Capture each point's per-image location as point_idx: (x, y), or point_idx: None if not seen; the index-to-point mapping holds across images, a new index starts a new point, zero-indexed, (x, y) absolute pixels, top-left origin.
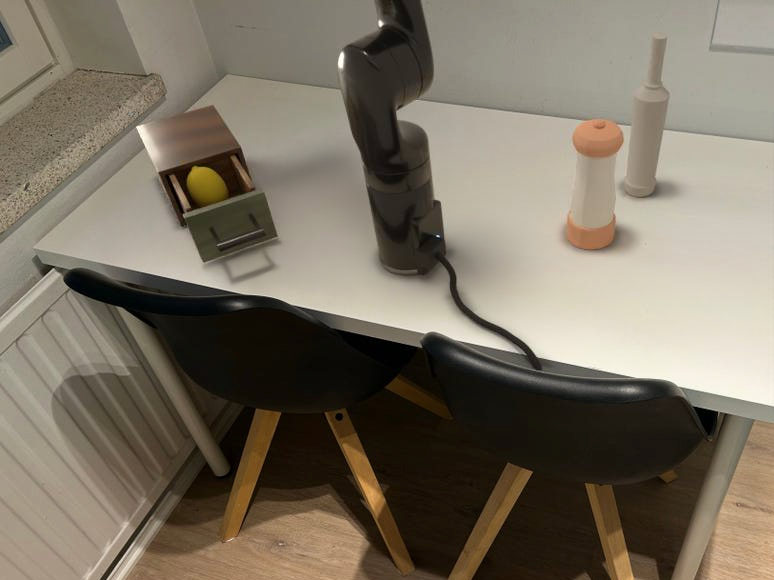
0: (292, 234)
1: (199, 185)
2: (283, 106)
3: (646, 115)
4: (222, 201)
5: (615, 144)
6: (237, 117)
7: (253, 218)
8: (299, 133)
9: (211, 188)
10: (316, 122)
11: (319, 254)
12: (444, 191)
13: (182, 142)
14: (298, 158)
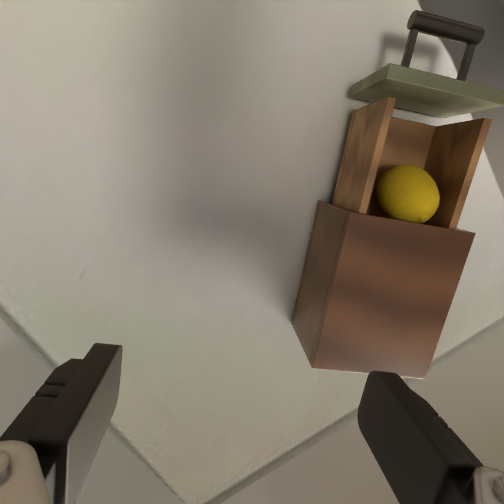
0: (327, 89)
1: (432, 181)
2: (171, 394)
3: None
4: (448, 91)
5: None
6: (235, 405)
7: (406, 63)
8: (188, 316)
9: (417, 171)
10: (153, 327)
11: (326, 13)
12: (86, 4)
13: (405, 290)
14: (223, 258)
